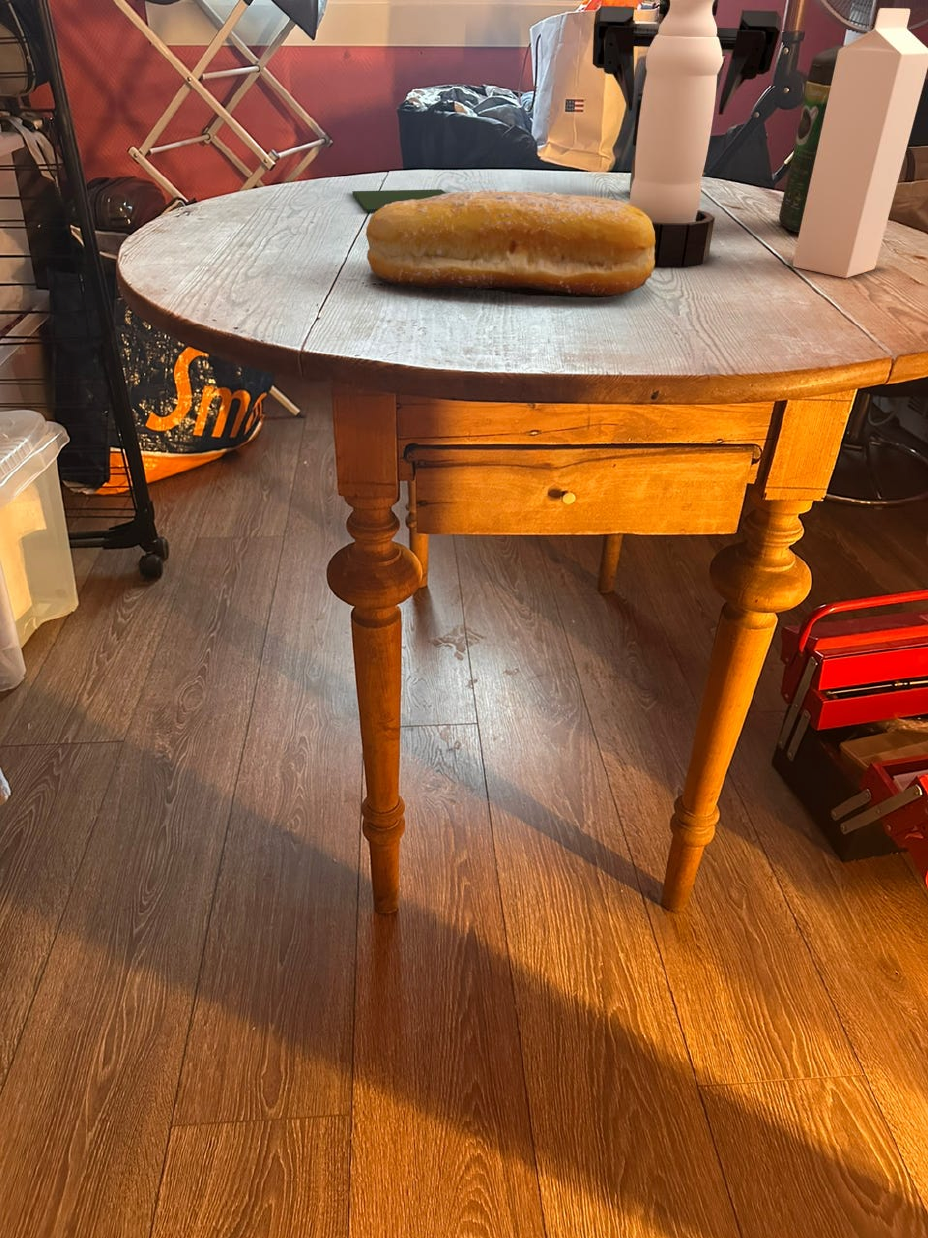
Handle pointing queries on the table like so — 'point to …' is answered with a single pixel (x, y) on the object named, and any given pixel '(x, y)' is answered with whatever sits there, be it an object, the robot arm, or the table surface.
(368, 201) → the mat
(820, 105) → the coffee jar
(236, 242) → the table surface
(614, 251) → the bread
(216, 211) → the table surface
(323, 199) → the table surface
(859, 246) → the milk
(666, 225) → the holder
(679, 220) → the water bottle
